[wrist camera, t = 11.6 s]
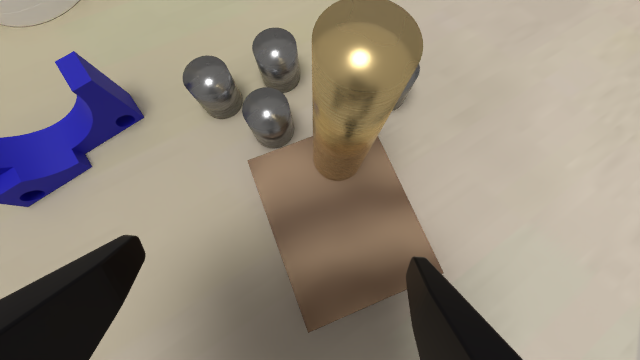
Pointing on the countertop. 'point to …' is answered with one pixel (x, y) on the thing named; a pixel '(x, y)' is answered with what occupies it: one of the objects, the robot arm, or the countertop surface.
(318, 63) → the cylinder
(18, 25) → the cylinder
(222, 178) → the countertop surface
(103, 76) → the cable clip
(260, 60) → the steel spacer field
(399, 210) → the brown wooden board
